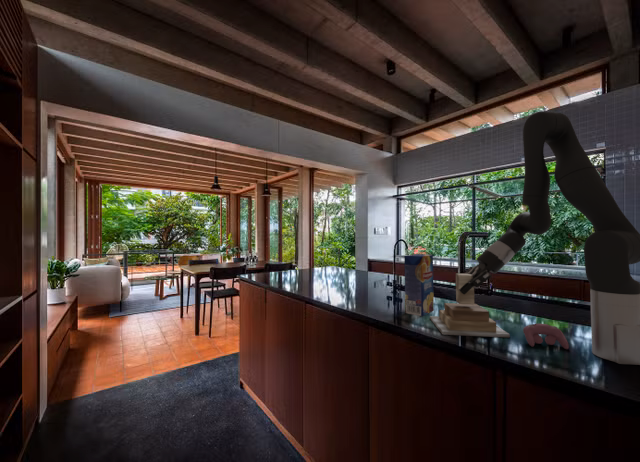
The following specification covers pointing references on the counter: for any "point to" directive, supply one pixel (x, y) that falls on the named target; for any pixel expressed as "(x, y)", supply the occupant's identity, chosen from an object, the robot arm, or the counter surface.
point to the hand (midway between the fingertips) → (459, 290)
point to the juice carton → (419, 284)
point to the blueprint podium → (466, 321)
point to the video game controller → (550, 331)
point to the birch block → (460, 282)
